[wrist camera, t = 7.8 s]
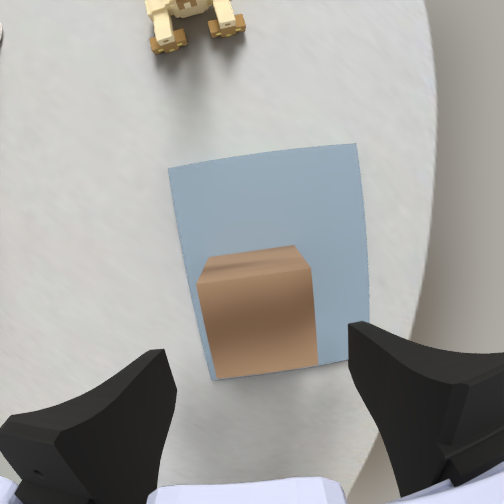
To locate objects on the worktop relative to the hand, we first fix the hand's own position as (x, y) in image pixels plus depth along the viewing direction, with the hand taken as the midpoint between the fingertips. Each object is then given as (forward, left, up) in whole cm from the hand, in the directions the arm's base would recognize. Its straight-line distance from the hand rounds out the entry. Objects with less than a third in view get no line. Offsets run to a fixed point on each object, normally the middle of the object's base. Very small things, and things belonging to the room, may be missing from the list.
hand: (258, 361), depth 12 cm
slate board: (+1, -2, -8) cm, 9 cm away
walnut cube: (0, 0, -8) cm, 8 cm away
